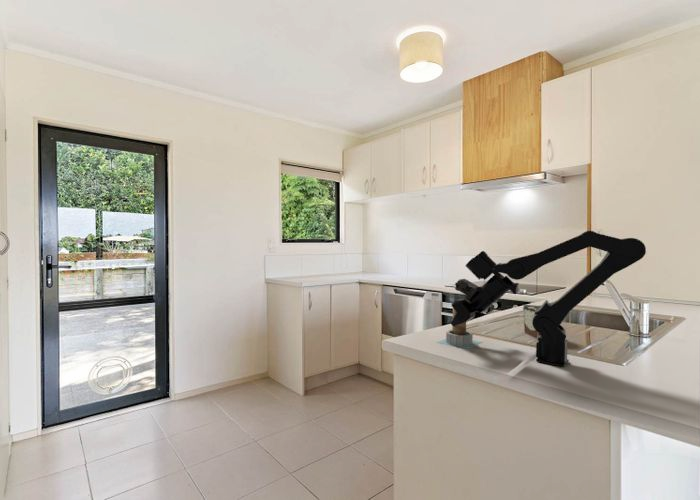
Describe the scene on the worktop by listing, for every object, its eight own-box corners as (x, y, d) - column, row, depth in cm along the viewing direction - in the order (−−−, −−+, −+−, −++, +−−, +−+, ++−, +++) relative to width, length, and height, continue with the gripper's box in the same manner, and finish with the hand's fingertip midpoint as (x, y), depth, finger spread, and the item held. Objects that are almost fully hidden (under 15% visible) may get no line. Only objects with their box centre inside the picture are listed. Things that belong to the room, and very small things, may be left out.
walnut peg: (468, 342, 111) (468, 306, 110) (462, 345, 108) (462, 308, 108) (455, 340, 113) (456, 305, 113) (450, 342, 110) (450, 306, 110)
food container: (559, 341, 116) (559, 311, 116) (539, 341, 117) (540, 310, 116) (539, 332, 129) (540, 304, 129) (522, 332, 129) (522, 304, 129)
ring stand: (481, 345, 111) (481, 332, 111) (467, 352, 103) (467, 338, 103) (451, 339, 118) (451, 327, 118) (436, 345, 110) (436, 332, 110)
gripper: (484, 269, 114) (452, 300, 122) (458, 272, 101) (423, 306, 108) (510, 296, 109) (474, 326, 117) (486, 303, 95) (447, 337, 103)
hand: (455, 323), depth 111 cm, fingers closed on walnut peg, 4 cm apart
